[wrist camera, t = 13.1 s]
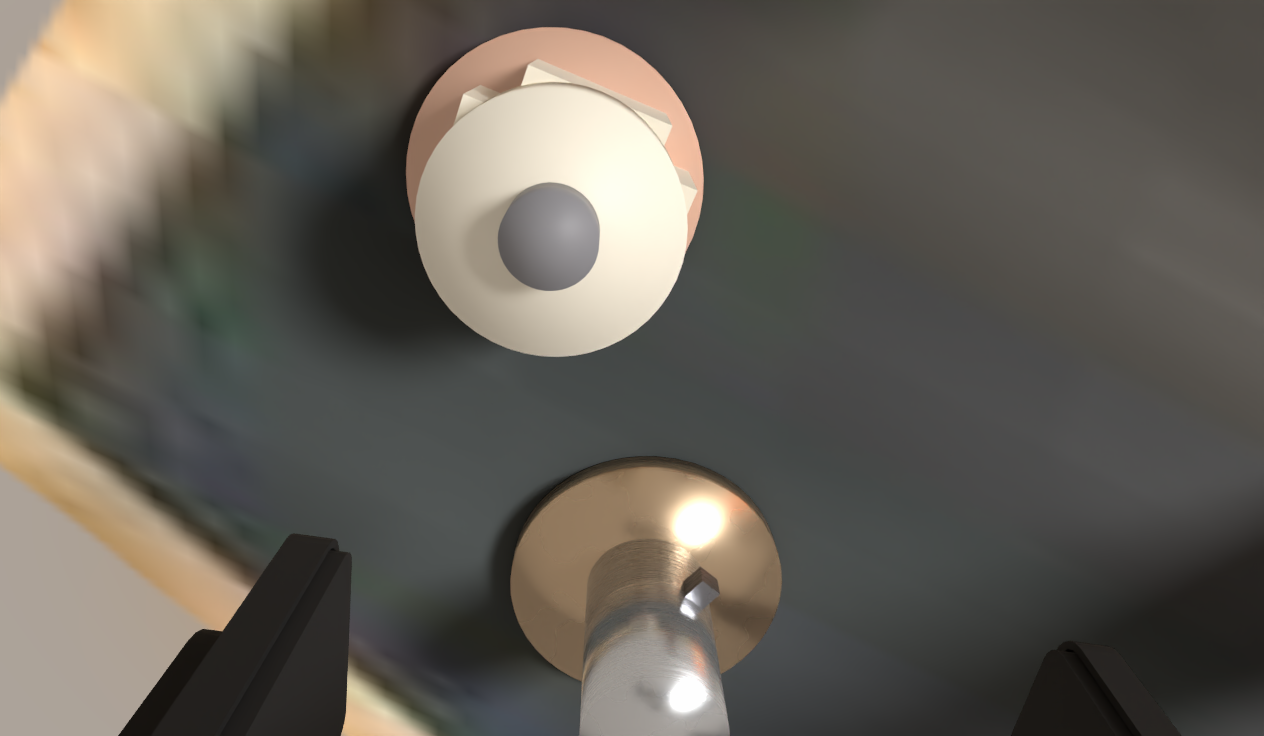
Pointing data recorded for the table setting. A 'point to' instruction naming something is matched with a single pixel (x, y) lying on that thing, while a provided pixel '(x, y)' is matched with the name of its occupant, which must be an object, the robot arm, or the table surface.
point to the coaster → (573, 52)
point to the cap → (553, 214)
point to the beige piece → (646, 592)
